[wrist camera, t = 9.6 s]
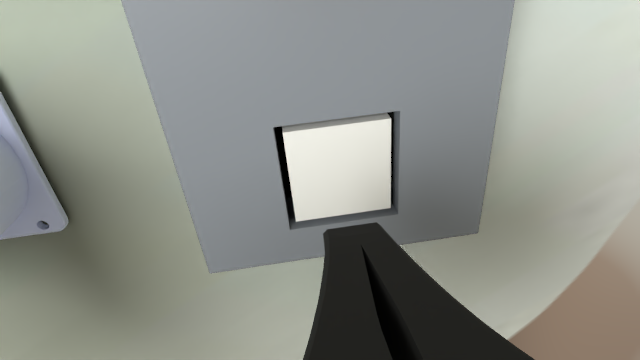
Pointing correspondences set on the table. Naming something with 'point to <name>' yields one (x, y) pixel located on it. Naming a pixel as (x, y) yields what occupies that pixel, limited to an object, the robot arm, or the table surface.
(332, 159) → the block
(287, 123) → the panel
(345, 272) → the robot arm
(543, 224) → the table surface
